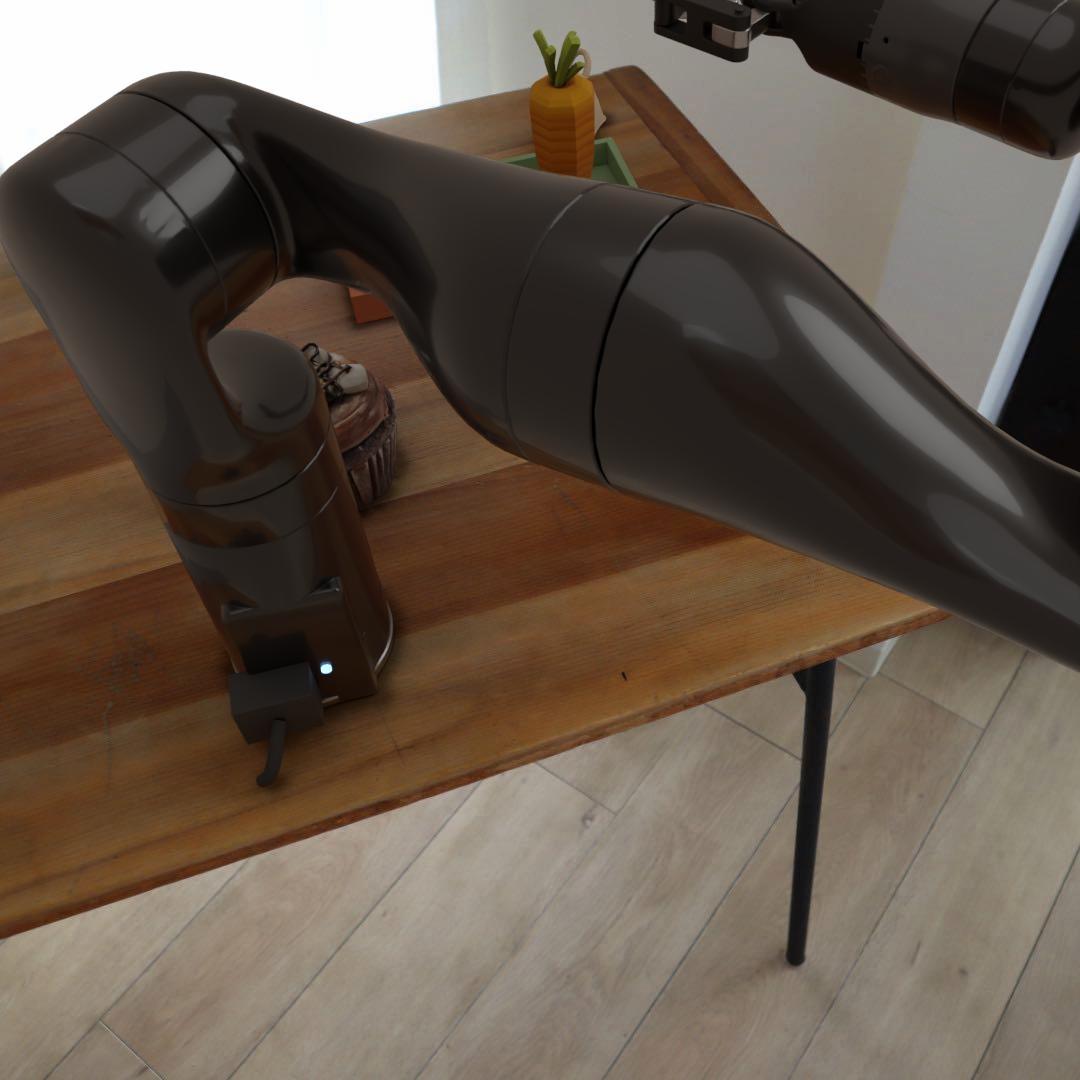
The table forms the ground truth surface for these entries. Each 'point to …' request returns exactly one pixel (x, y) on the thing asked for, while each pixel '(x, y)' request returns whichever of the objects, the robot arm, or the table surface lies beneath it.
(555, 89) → the carrot
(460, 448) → the table surface
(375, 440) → the cupcake
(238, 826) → the table surface
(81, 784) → the table surface
